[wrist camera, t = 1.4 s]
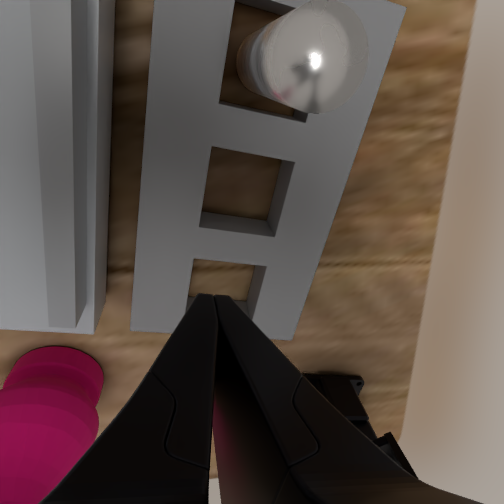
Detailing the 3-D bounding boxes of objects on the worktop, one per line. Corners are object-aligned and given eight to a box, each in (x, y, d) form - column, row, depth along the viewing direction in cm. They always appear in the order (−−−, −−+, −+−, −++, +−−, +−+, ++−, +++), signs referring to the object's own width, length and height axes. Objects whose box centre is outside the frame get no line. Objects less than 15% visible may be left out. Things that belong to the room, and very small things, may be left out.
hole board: (283, 317, 26) (291, 340, 24) (135, 306, 24) (129, 330, 22) (380, 14, 18) (406, 7, 16) (164, -55, 15) (160, -76, 13)
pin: (283, 100, 19) (349, 122, 11) (231, 87, 18) (261, 102, 11) (298, 38, 18) (383, 14, 10) (242, 22, 17) (286, -17, 9)
